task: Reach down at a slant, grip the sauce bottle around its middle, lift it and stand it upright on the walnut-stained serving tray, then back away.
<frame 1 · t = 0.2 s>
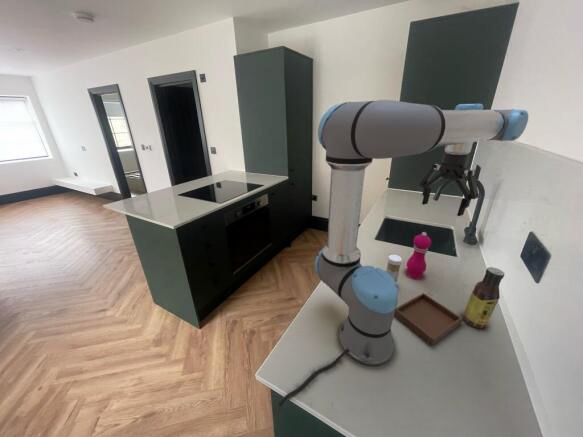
hand: (441, 209, 89), 28 cm above the worktop, tool pointing down, fingers open, 13 cm apart
sprinkles bottle: (389, 286, 91), on the worktop
serving tray: (425, 319, 76), on the worktop
sauce bottle: (473, 321, 75), on the worktop
pepper mill: (414, 274, 97), on the worktop
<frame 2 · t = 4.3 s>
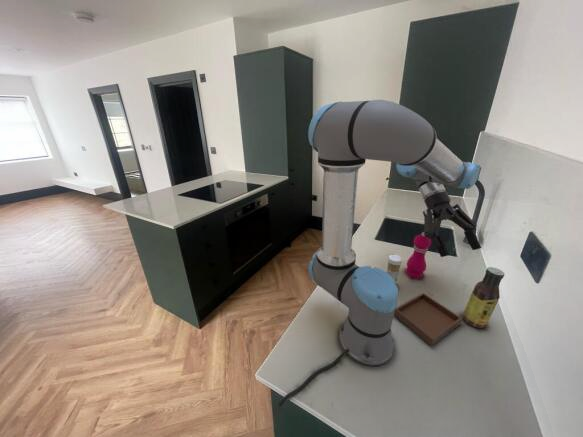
hand: (461, 252, 76), 20 cm above the worktop, tool tilted 45°, fingers open, 13 cm apart
nothing on the worktop moved.
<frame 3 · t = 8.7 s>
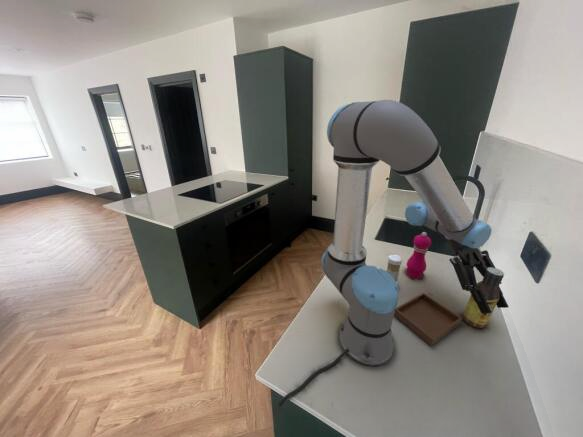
hand: (494, 309, 68), 8 cm above the worktop, tool tilted 45°, fingers closed on sauce bottle, 6 cm apart
sauce bottle: (473, 321, 75), on the worktop, touching gripper
everything else where it was.
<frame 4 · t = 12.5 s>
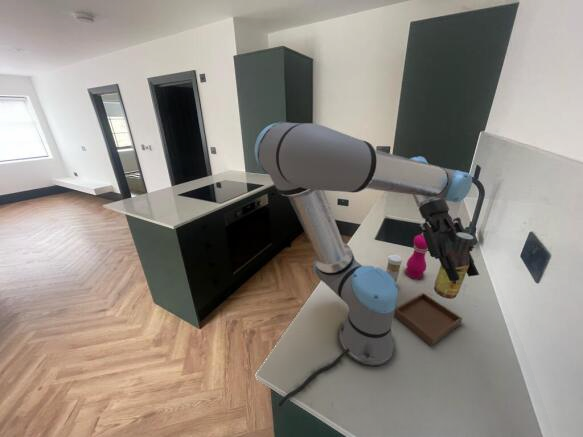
hand: (464, 277, 64), 20 cm above the worktop, tool tilted 45°, fingers closed on sauce bottle, 6 cm apart
sauce bottle: (444, 293, 71), point 12 cm above the worktop, touching gripper
everything else where it was.
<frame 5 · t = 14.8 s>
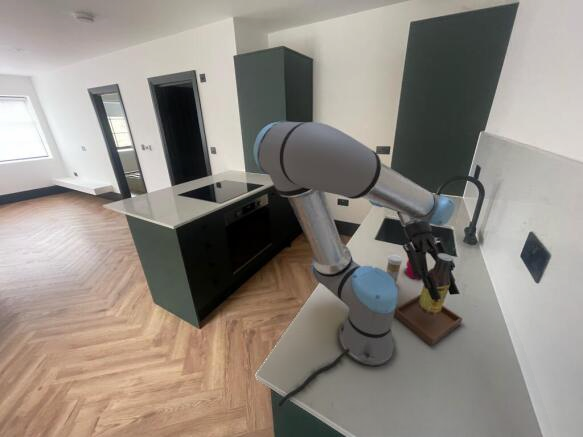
hand: (445, 296, 67), 13 cm above the worktop, tool tilted 45°, fingers closed on sauce bottle, 6 cm apart
sauce bottle: (428, 309, 74), point 5 cm above the worktop, touching gripper
everything else where it was.
when the fingers open (9 cm above the worktop, at t = 16.3 s): sauce bottle stays where it is, resting on serving tray.
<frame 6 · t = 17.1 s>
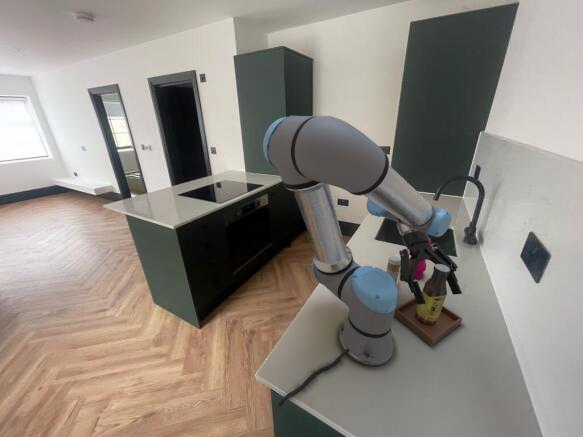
hand: (440, 299, 69), 11 cm above the worktop, tool tilted 45°, fingers open, 13 cm apart
sauce bottle: (425, 318, 75), point 1 cm above the worktop, touching serving tray
everything else where it was.
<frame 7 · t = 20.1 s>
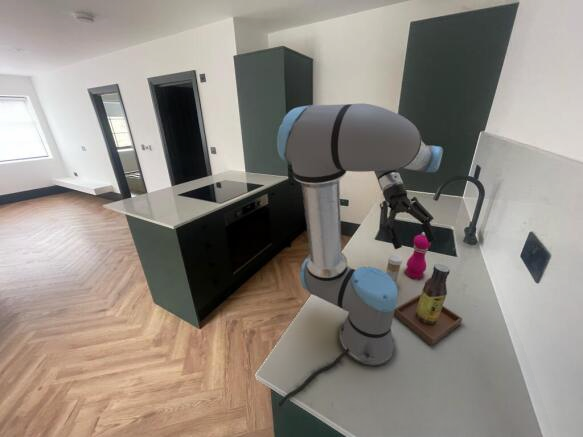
hand: (415, 245, 75), 23 cm above the worktop, tool tilted 45°, fingers open, 13 cm apart
nothing on the worktop moved.
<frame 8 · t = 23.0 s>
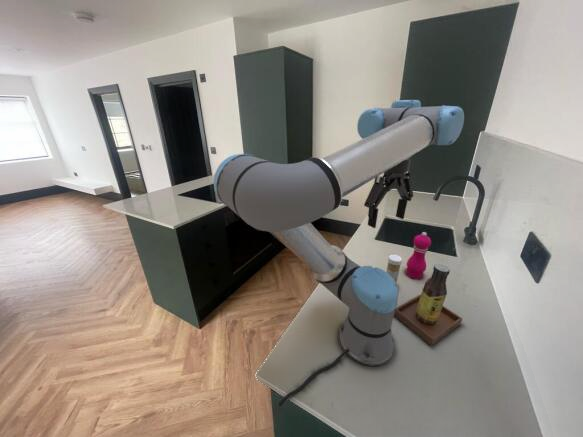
hand: (386, 221, 78), 29 cm above the worktop, tool pointing down, fingers open, 13 cm apart
nothing on the worktop moved.
at the end: sauce bottle inside the target area in the serving tray (0.1 cm from its centre), point 0.6 cm above the serving tray's base; sauce bottle tilted 0°; the gripper is holding nothing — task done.
